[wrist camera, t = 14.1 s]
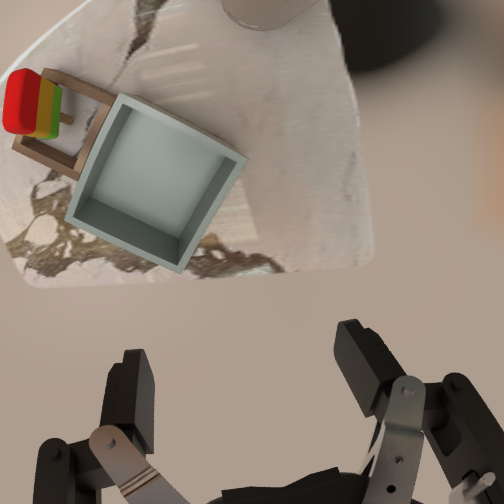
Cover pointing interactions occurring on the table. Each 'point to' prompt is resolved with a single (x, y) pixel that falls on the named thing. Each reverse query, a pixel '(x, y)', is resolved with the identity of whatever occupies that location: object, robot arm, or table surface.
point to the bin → (153, 182)
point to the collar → (75, 166)
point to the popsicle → (32, 106)
